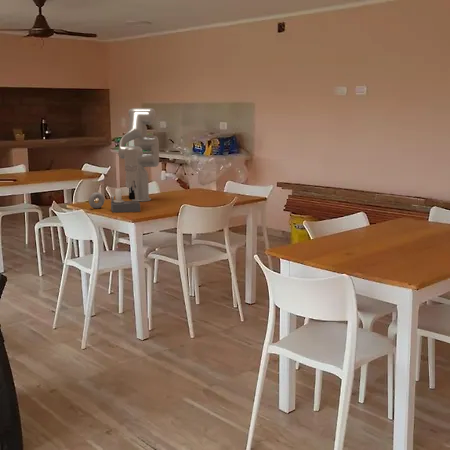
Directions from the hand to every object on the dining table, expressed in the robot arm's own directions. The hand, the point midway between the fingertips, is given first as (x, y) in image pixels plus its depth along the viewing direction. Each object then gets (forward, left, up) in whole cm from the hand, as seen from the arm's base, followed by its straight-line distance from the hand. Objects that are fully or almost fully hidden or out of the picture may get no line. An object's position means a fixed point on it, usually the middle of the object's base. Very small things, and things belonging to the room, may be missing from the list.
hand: (131, 199), depth 365 cm
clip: (-4, -5, 0) cm, 6 cm away
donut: (-12, -20, -7) cm, 24 cm away
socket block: (-1, -4, -7) cm, 8 cm away
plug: (-1, -8, -7) cm, 10 cm away
